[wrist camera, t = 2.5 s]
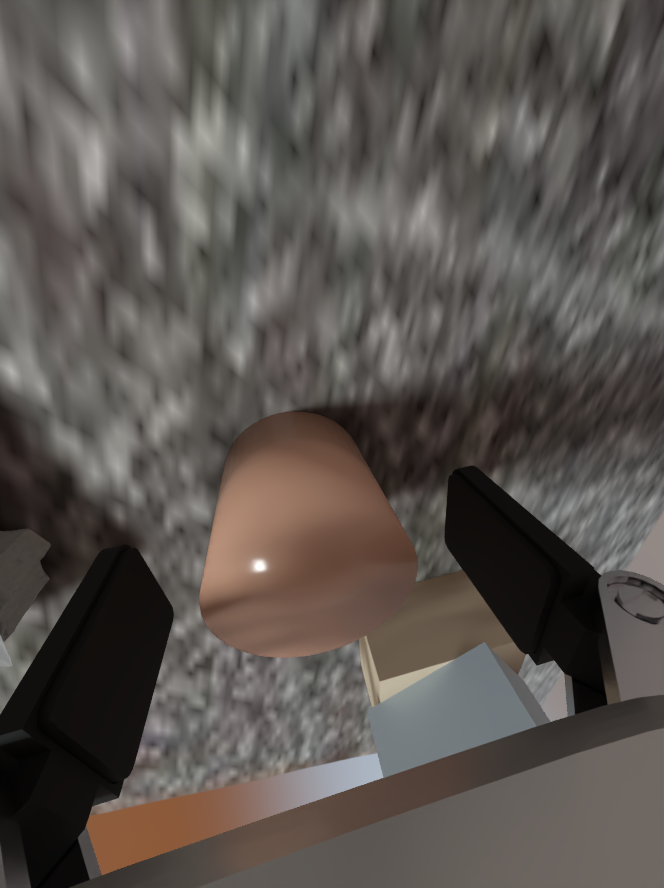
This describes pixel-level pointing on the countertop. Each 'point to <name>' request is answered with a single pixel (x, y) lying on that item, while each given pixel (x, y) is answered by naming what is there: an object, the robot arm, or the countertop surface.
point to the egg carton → (19, 579)
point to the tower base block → (431, 635)
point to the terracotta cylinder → (302, 542)
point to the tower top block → (453, 711)
